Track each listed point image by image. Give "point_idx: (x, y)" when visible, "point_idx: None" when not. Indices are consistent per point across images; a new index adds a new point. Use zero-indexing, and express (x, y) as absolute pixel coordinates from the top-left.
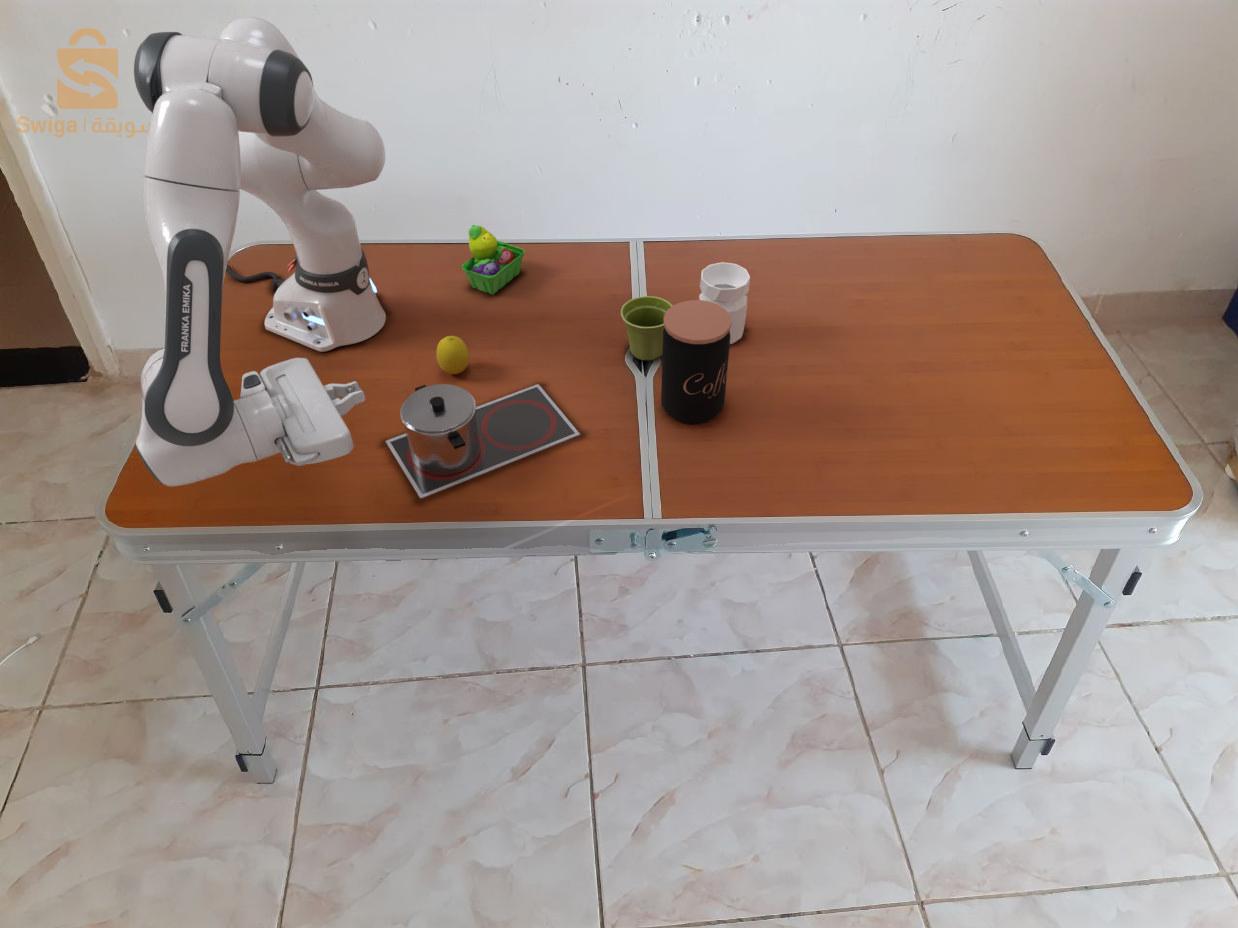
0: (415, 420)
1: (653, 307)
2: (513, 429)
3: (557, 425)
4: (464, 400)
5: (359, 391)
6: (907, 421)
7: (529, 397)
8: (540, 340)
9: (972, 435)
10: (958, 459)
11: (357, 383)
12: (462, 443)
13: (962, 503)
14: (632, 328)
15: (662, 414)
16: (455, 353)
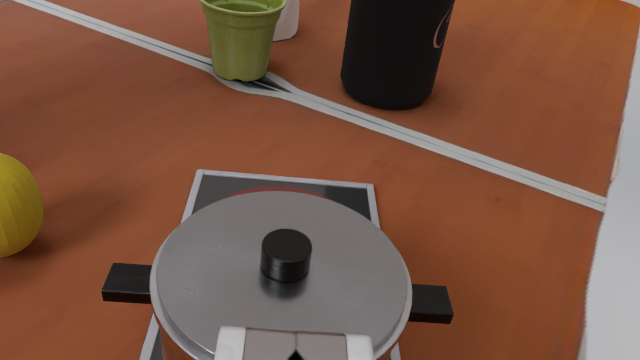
0: None
1: (221, 2)
2: None
3: (328, 196)
4: (303, 207)
5: (355, 346)
6: (496, 26)
7: (220, 192)
8: (82, 125)
9: (530, 18)
10: (559, 32)
11: (247, 327)
12: (447, 293)
13: (619, 51)
14: (252, 21)
15: (381, 112)
16: (23, 184)
